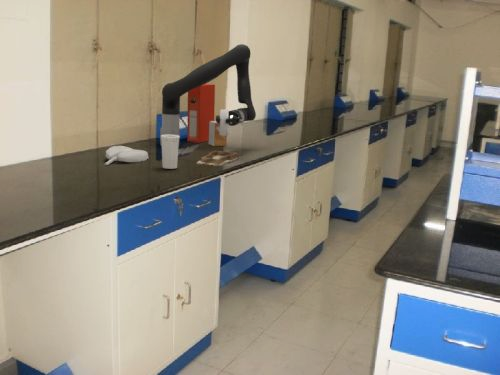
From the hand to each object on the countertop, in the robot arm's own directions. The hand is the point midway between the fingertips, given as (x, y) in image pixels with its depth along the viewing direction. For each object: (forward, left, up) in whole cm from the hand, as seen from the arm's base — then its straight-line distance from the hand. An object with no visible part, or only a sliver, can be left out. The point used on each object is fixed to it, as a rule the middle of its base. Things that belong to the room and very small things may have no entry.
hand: (222, 120), depth 259 cm
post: (0, +3, -7) cm, 8 cm away
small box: (-18, +40, -19) cm, 47 cm away
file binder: (-32, +48, -19) cm, 60 cm away
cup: (-12, -29, -19) cm, 37 cm away
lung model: (-38, -27, -19) cm, 50 cm away
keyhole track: (0, -3, -19) cm, 19 cm away
